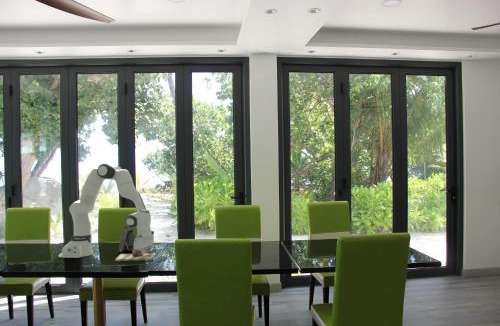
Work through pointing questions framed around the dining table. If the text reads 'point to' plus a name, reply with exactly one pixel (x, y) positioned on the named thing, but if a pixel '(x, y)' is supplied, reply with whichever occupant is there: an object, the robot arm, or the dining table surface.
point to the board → (135, 257)
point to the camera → (127, 240)
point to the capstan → (139, 252)
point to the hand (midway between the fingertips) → (143, 253)
